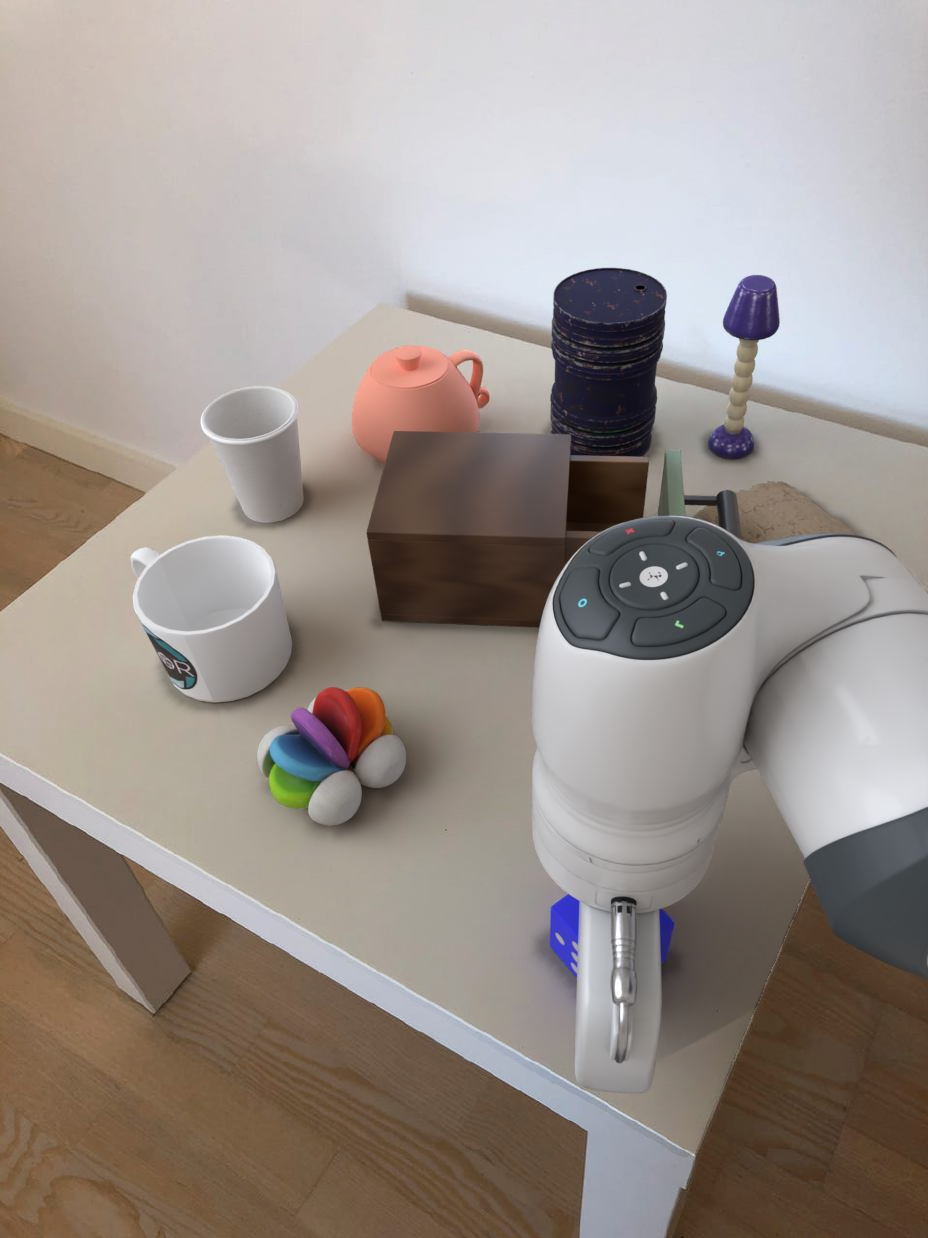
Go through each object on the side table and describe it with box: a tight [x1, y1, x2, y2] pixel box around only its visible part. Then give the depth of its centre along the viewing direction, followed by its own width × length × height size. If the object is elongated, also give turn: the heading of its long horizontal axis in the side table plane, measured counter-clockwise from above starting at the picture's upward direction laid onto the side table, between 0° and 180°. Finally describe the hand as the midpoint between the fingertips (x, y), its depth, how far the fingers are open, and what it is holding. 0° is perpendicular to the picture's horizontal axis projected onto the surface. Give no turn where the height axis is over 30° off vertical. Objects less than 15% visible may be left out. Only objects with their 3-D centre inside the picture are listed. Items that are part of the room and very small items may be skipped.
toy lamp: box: [707, 274, 781, 460], centre depth 83 cm, size 5×5×17 cm
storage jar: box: [549, 267, 668, 457], centre depth 86 cm, size 10×10×15 cm
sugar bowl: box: [351, 344, 491, 465], centre depth 89 cm, size 12×14×10 cm
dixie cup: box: [200, 385, 304, 524], centre depth 84 cm, size 8×8×10 cm
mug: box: [129, 534, 293, 704], centre depth 72 cm, size 13×10×8 cm
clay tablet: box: [691, 480, 858, 544], centre depth 79 cm, size 14×10×3 cm
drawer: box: [565, 449, 742, 565], centre depth 75 cm, size 18×11×8 cm, turn 84°
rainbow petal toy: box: [256, 686, 407, 827], centre depth 64 cm, size 8×10×7 cm
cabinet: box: [366, 431, 571, 629], centre depth 76 cm, size 15×13×10 cm
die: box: [549, 893, 675, 979], centre depth 55 cm, size 5×5×5 cm
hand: (607, 939), depth 55 cm, fingers closed on die, 7 cm apart
